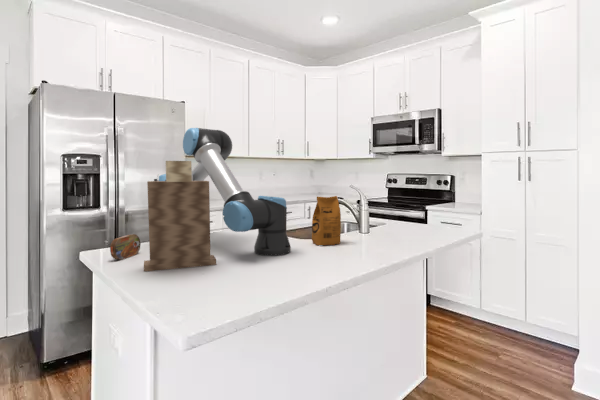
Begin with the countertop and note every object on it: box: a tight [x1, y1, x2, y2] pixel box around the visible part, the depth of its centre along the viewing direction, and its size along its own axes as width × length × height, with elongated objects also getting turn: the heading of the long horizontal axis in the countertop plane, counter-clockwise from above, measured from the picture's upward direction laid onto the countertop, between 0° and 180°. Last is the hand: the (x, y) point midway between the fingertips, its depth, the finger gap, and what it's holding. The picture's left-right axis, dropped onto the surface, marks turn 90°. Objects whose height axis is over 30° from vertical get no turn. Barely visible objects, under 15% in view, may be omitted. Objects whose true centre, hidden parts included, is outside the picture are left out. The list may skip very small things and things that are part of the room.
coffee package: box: [311, 195, 342, 246], centre depth 168 cm, size 10×12×22 cm
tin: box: [109, 233, 141, 261], centre depth 142 cm, size 15×3×8 cm, turn 168°
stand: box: [143, 180, 217, 272], centre depth 129 cm, size 24×7×30 cm, turn 112°
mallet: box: [165, 160, 193, 182], centre depth 133 cm, size 8×21×7 cm, turn 22°
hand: (175, 177), depth 155 cm, fingers open, 13 cm apart
